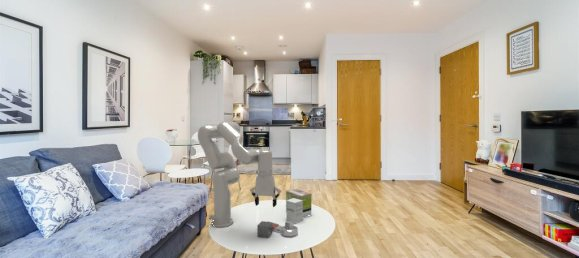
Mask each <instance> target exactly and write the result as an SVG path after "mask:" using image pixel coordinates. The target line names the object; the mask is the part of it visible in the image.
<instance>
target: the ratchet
mask: <svg viewBox="0 0 579 258" xmlns="http://www.w3.org/2000/svg"><path fill="white" fill-rule="evenodd" d="M267 222H270V221H267ZM294 224H295V223H294V222H292V221H287V220H286V221H285V223H284V225H283V226H282V225H279V224H278V223H275V222H273V233H274V232H275V233H278V234H280V235H281V236H282V237H284V238H287V239H288V238H291V239H292V238H296V237H297V236H298V235H299V234H298V233H299V232H298V231H299V229H298V228H299V227H297V226H295V225H294Z"/></svg>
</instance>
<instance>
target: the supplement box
mask: <svg viewBox="0 0 579 258" xmlns="http://www.w3.org/2000/svg"><path fill="white" fill-rule="evenodd" d="M285 212H286V214H285V215H286V218H285V219H286V222H287V221H292V222H294V224H297V222H298V223H299V222H303V221H304V220H303V219H304V218H303V200H299V199H296V198H293V199H289V200H287V210H286V209H285Z"/></svg>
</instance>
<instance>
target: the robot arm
mask: <svg viewBox="0 0 579 258" xmlns="http://www.w3.org/2000/svg"><path fill="white" fill-rule="evenodd" d="M240 131H241V126H240V125H239V124H238V123H237V122H235V121H222V122H219V123H218V124H204V125H202V126H201V127H199V129H198V132H197V139H198V143H199V144H200V146H201V148H202V150H203V153H204V155H205V158H206V161H207V164H208V166H209V167H210V169H211V170H213V171H214V170H217V171H215V172H214V173H213V175H212V177H211V181H212V186H213V214H209V216H208V220H212V221H213V220H214V221H213V222H212V221H211V223H213V225H214V226H216V227H215V228H226V227H229V226H231V225H233V224H234V219H233V218H231V217H232V216H231V214H232V211H231V210H232V208H231V206H232V203H231V202H232V200H231V190H230V188H229V186H231V185H234V184H237V183H238V182H239V181H240V179H241V177H240V175H241V174H240V170H239V169H238V166H237V164H236V161H235V159H237V161H239V162H240V163H241V164H243V165H251V164H256V163H257V170H256V171H255V174H257V176H256V177H255V178H256V179H255V184H254V185H255V186H254V187H252V188H250V189H249V190H250V193H251V195H252V197H253V199H254V204H255V207H256V206H258V205H260V197H259V196H262V197H272V207H273V208H275V207H276V206H277V202H278V201H277V198H279V197H280V195H281V194H282V190H281V189H280V188H278V187H276V183H275V182H276V181H275V177H274V175H273V151H272V150H271V149H259V148H252V149H245V147H243V146H242V142H243V141H244V136H243V134H242V133H241V132H240ZM222 138H223V139H224V140H225V142H227V143H228V144H229V145H230V146H231V147H230V148H231V153H232V154H231V153H230V152H221V151H220V149H219V147H218V144H217V143H216V142H215V141H214V140H213V139H222ZM232 155H233V156H232ZM234 157H235V159H234ZM254 190H255V191H254ZM276 192H277V193H276ZM211 223H210V224H211ZM214 226H213V227H214Z"/></svg>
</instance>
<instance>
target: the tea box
mask: <svg viewBox="0 0 579 258" xmlns="http://www.w3.org/2000/svg"><path fill="white" fill-rule="evenodd" d="M293 198H296V199H299V200H303V217H305V216H308V215H311V216H312V193H311V192H308V191H305V190H302V189H299V188H294V189H290V190H286V191H285V202H286V203H285V211H286V210H287V200H289V199H293ZM308 217H309V216H308ZM305 218H306V217H305Z"/></svg>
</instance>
